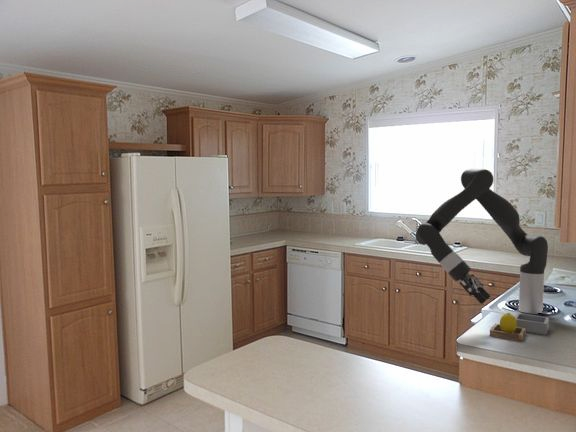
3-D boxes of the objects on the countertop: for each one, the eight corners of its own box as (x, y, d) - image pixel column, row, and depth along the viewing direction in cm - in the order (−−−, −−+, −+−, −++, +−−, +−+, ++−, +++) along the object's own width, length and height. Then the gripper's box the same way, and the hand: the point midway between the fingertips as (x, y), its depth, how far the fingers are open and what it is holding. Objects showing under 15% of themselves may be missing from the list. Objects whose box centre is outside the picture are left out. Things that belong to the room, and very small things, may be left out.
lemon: (501, 331, 168) (502, 310, 168) (518, 334, 165) (518, 312, 164) (497, 335, 164) (498, 312, 163) (514, 338, 160) (515, 315, 160)
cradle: (494, 328, 171) (494, 323, 171) (525, 333, 166) (525, 328, 166) (489, 335, 163) (489, 330, 163) (522, 341, 157) (522, 335, 157)
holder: (516, 322, 180) (517, 312, 180) (548, 327, 174) (549, 317, 174) (512, 329, 171) (513, 318, 171) (546, 334, 165) (546, 323, 165)
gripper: (457, 262, 166) (490, 297, 160) (466, 258, 178) (497, 290, 172) (442, 275, 169) (474, 310, 164) (452, 270, 181) (482, 302, 175)
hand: (486, 300), depth 168 cm, fingers open, 8 cm apart
